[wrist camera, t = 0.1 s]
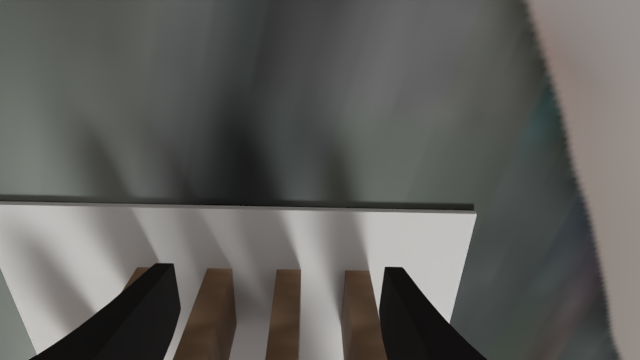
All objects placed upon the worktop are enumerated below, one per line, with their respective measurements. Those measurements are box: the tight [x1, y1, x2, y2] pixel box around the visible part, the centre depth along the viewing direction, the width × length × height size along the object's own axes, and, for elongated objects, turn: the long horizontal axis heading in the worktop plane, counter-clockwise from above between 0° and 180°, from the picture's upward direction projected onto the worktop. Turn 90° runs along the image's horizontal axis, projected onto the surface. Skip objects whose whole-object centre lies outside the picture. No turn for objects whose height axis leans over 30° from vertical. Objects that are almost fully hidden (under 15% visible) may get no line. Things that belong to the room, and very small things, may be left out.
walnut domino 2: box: [265, 269, 301, 360], centre depth 22 cm, size 2×5×9 cm, turn 178°
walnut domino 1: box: [173, 268, 237, 360], centre depth 22 cm, size 2×5×9 cm, turn 178°
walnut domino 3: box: [341, 270, 387, 360], centre depth 22 cm, size 2×5×9 cm, turn 178°
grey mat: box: [0, 201, 477, 360], centre depth 27 cm, size 16×30×1 cm, turn 88°
